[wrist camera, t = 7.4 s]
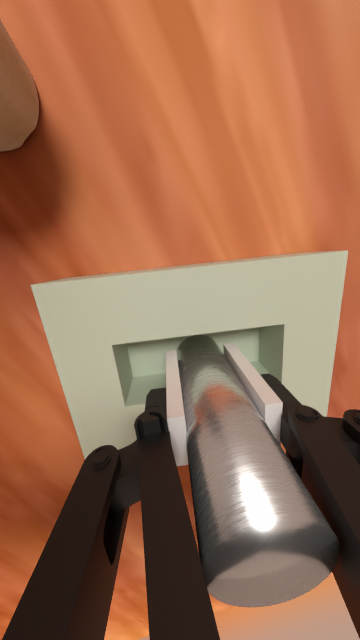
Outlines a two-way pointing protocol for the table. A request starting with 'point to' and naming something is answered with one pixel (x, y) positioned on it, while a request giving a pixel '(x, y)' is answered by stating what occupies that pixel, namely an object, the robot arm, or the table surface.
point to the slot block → (189, 331)
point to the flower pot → (15, 96)
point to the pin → (246, 491)
